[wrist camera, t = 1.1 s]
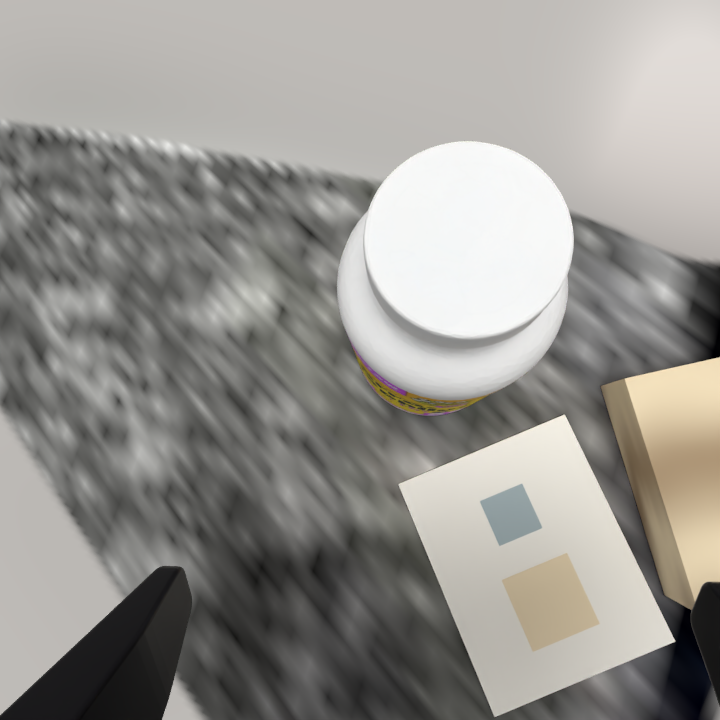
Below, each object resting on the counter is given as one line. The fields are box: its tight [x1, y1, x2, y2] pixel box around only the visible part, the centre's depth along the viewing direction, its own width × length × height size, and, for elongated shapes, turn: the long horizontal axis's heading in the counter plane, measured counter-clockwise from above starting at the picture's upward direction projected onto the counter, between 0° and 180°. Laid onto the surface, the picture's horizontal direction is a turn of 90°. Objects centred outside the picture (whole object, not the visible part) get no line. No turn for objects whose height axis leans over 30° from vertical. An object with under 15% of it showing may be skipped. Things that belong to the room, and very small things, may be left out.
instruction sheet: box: [398, 415, 675, 717], centre depth 22 cm, size 10×8×1 cm
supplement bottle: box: [337, 141, 574, 416], centre depth 18 cm, size 7×7×13 cm
